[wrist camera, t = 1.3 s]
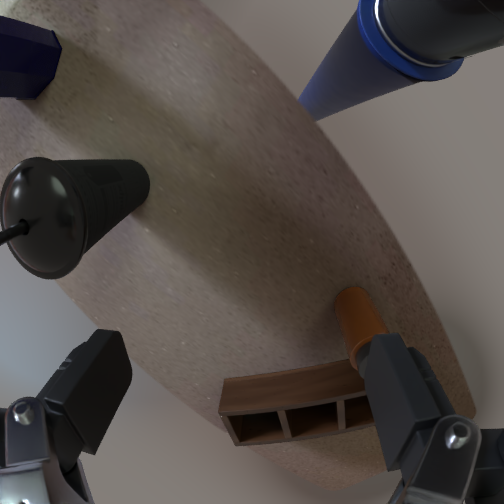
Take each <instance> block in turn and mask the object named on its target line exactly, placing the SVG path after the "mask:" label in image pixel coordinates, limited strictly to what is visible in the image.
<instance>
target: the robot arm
mask: <svg viewBox="0 0 504 504" xmlns="http://www.w3.org/2000/svg"><path fill="white" fill-rule="evenodd" d="M373 18H374V22H375V25H376V27H377V30H378V32H379V33H380V35H381V37H382V38H383V40H384V41H385V42H386V44H387V45H388V46H389V47H390V48H391V49H392V50H393V51H394V52H395V53H397V54H398V55H399V56H400V57H402V58H403V59H405V60H406V61H408V62H410V63H412V64H415V65H418V66H421V67H426V68H436V67H440V66H443V65H446V64H448V63H450V62H453V61H455V60H457V59H460V60H461V58H464V57H467V56H470V55H473V54H476V53H479V52H483V51H486V50H489V49H493V48H496V47H500V46H503V45H504V0H375V1H374V5H373ZM457 61H458V60H457ZM131 380H132V367H131V363H130V360H129V357H128V354H127V351H126V348H125V344H124V341H123V338H122V335H121V333H120V332H119V331H113V330H103V329H97V330H96V331H95V332H94V333H93V334H92V336H91V337H90V338H89V339H88V341H87V342H84V343H82V344H81V345H79V346H78V347H76V348H75V349H73V350H72V352H71V353H70V354H69V355H68V357H67V358H66V359H65V361H64V362H63V363H62V364H61V365H60V367H59V370H58V369H57V370H56V372H55V373H54V374H53V376H52V377H51V378H50V379H49V381H48V382H47V383H46V385H45V386H44V387H43V389H42V390H41V391H40V393H39V394H38V395H37V396H36V398H34V397H23V398H20V399H18V400H16V401H14V402H13V403H12V404H11V405H10V406H9V407H8V409H6V408H0V504H95V503H94V501H93V498H92V495H91V492H90V489H89V486H88V483H87V480H86V476H85V473H84V470H83V466H82V463H81V460H80V459H79V455H80V453H81V451H83V452H86V453H89V454H93V455H95V454H96V451H97V449H98V447H99V445H100V443H101V441H102V439H103V437H104V435H105V433H106V431H107V429H108V427H109V425H110V423H111V421H112V419H113V417H114V415H115V413H116V411H117V409H118V407H119V405H120V403H121V401H122V399H123V397H124V395H125V393H126V392H127V390H128V388H129V386H130V384H131ZM364 385H365V391H366V394H367V397H368V401H369V404H370V408H371V411H372V414H373V418H374V421H375V425H376V429H377V432H378V436H379V439H380V443H381V447H382V451H383V454H384V458H385V462H386V466H387V470H388V472H389V471H394V470H398V469H401V473H402V478H401V480H400V482H399V483H398V485H397V487H396V489H395V491H394V493H393V495H392V496H391V498H390V500H389V501H388V503H387V504H463V501H464V500H465V503H466V504H504V429H479V427H478V425H477V424H476V423H475V422H474V421H473V420H471V419H470V418H468V417H466V416H462V415H457V414H456V413H455V411H454V409H453V407H452V405H451V403H450V401H449V399H448V397H447V395H446V394H445V392H444V390H443V388H442V386H441V384H440V383H439V381H438V379H436V375H435V374H434V372H433V370H431V366H430V365H429V363H428V361H427V360H426V358H425V356H424V355H422V354H421V353H420V352H419V351H417V350H416V349H415V348H414V347H408V348H407V347H406V345H405V344H404V342H403V340H402V338H401V336H400V335H399V334H398V333H388V334H375V335H374V336H373V338H372V342H371V347H370V351H369V356H368V361H367V365H366V369H365V375H364Z"/></svg>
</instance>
